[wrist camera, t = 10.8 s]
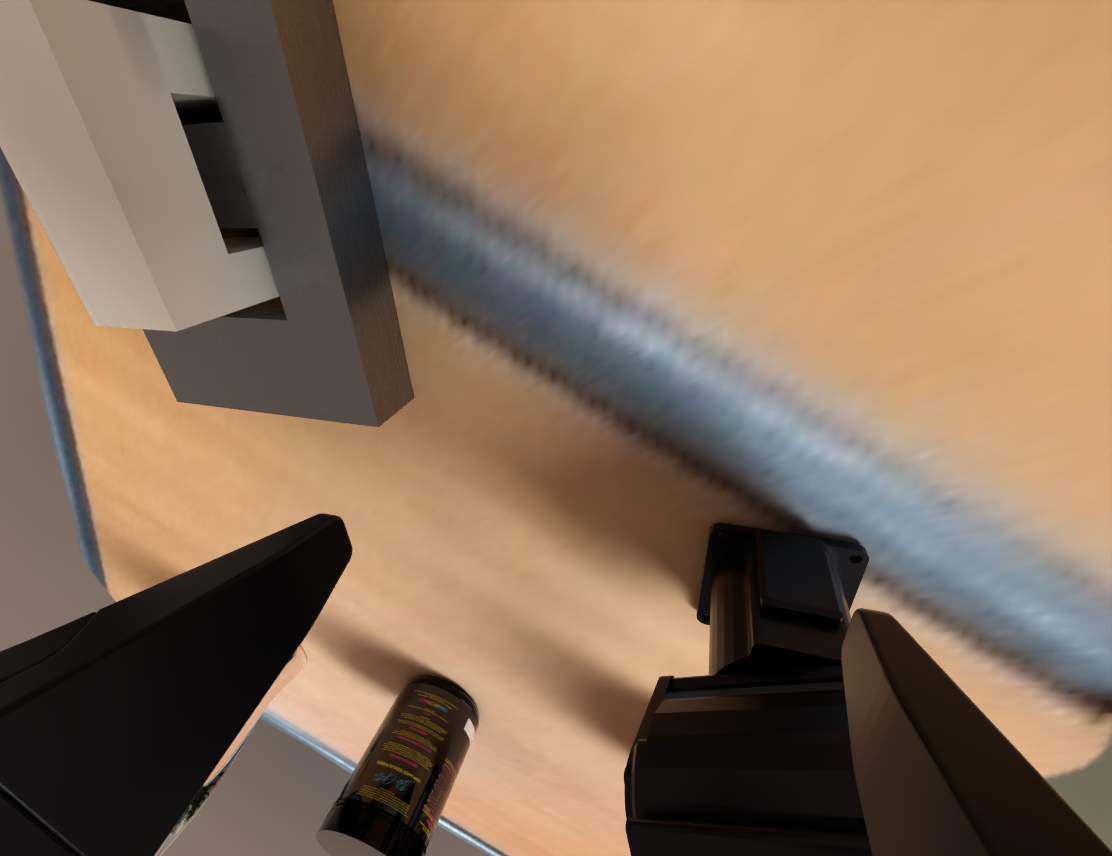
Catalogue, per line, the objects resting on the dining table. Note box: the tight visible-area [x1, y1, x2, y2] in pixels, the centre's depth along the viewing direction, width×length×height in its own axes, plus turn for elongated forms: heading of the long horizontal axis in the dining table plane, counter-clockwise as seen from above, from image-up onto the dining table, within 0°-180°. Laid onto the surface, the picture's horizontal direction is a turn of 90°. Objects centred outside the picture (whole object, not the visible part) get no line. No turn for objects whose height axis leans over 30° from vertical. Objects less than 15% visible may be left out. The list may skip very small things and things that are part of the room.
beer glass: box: [155, 646, 307, 856], centre depth 36 cm, size 7×7×15 cm
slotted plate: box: [88, 0, 414, 427], centre depth 19 cm, size 20×12×3 cm, turn 2°
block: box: [0, 0, 279, 332], centre depth 18 cm, size 9×4×7 cm, turn 2°
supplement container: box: [316, 676, 479, 856], centre depth 34 cm, size 7×7×10 cm
